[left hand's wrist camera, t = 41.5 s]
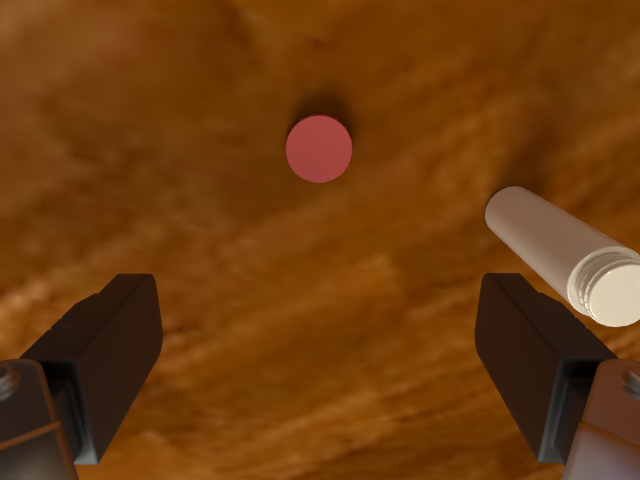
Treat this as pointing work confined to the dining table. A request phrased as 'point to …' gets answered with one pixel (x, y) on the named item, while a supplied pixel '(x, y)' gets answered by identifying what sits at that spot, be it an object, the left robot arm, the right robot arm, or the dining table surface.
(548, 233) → the beige cylinder
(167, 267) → the dining table surface
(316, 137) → the lid
